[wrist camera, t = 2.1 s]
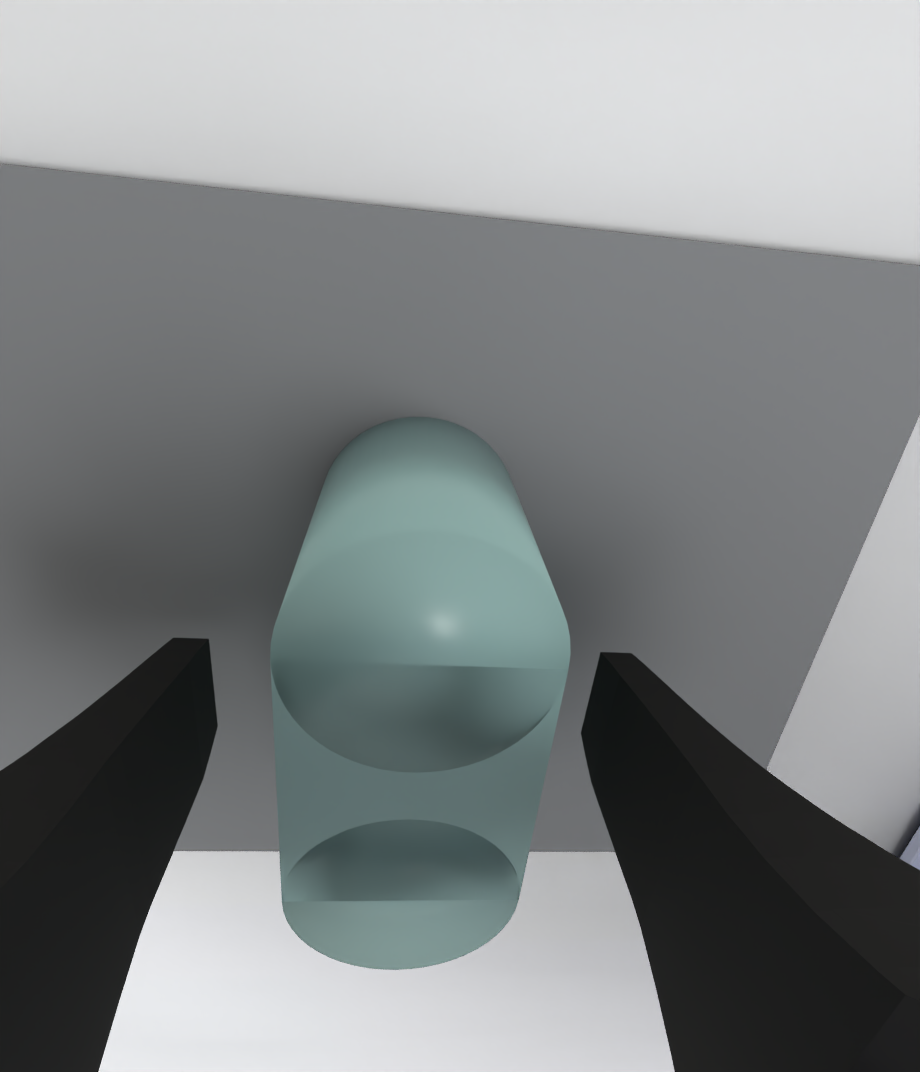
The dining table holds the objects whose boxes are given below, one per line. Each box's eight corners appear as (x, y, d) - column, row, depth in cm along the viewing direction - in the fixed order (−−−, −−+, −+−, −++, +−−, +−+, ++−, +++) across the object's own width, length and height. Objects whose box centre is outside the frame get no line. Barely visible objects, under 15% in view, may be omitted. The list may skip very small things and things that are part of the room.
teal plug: (320, 409, 12) (263, 521, 7) (528, 424, 12) (597, 540, 8) (322, 823, 17) (289, 1042, 12) (468, 825, 17) (488, 1035, 13)
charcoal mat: (959, 270, 12) (981, 272, 11) (723, 836, 19) (730, 851, 18) (-192, 143, 10) (-222, 139, 9) (25, 834, 17) (14, 850, 16)
